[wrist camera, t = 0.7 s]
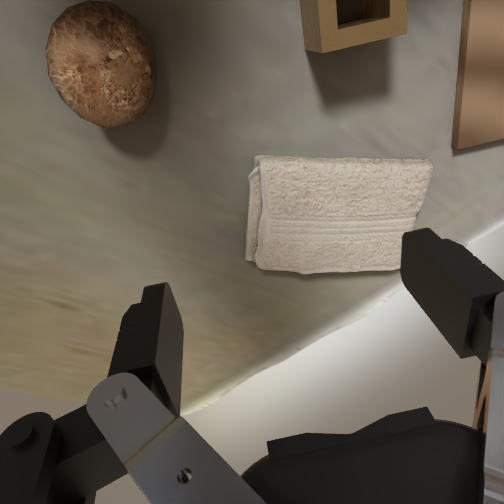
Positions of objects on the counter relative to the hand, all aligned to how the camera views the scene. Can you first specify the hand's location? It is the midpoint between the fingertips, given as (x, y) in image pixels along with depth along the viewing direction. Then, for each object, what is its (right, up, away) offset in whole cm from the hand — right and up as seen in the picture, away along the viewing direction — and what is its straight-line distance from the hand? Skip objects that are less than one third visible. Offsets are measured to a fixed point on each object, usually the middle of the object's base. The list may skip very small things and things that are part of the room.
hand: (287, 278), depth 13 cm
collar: (+5, +20, +16) cm, 26 cm away
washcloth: (+7, +5, +26) cm, 27 cm away
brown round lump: (-12, +16, +17) cm, 26 cm away
